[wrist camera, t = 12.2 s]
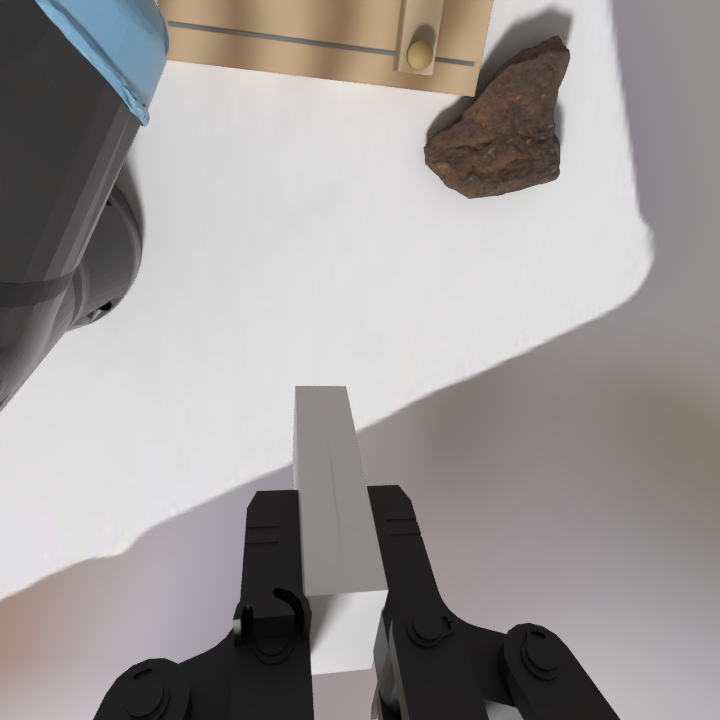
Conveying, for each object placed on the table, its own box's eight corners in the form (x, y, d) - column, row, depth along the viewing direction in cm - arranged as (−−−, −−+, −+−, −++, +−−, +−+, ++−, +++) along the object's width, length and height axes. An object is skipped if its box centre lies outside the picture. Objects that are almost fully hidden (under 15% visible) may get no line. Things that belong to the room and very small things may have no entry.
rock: (551, 35, 36) (577, 32, 33) (548, 176, 42) (569, 184, 39) (410, 67, 36) (423, 67, 33) (426, 205, 42) (438, 216, 38)
